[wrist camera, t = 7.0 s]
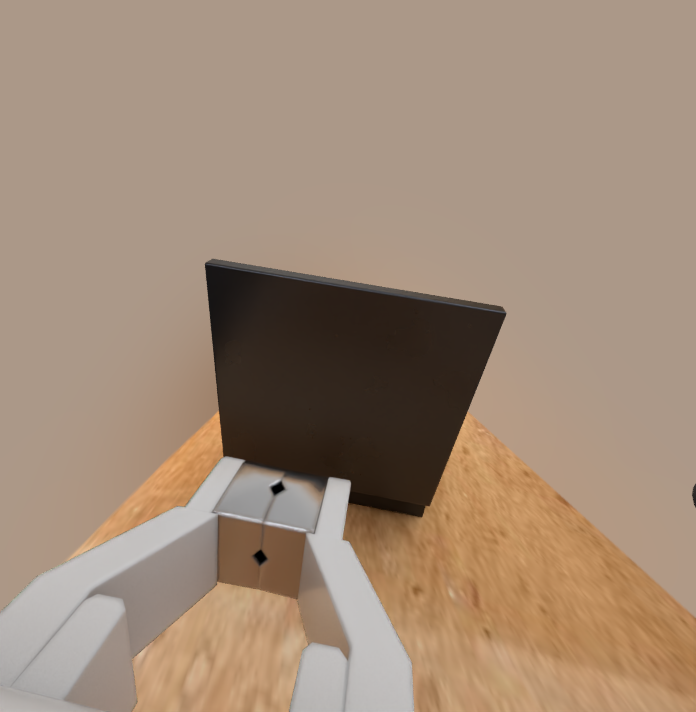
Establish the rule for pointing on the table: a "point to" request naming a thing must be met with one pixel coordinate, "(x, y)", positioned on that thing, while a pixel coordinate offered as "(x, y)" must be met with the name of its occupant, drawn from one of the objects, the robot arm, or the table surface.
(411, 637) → the table surface
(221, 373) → the laptop screen
